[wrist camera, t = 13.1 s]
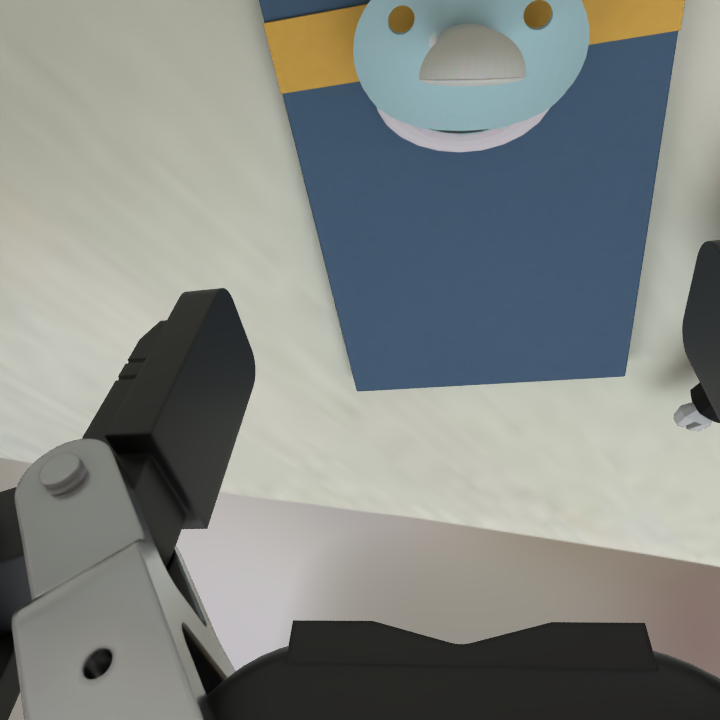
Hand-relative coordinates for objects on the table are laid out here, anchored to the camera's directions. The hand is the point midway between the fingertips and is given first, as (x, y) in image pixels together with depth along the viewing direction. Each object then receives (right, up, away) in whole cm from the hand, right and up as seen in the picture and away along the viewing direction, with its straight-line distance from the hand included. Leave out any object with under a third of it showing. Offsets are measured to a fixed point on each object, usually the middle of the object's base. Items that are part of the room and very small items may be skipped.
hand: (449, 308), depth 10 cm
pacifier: (+2, +10, +11) cm, 15 cm away
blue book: (+3, +6, +15) cm, 17 cm away
